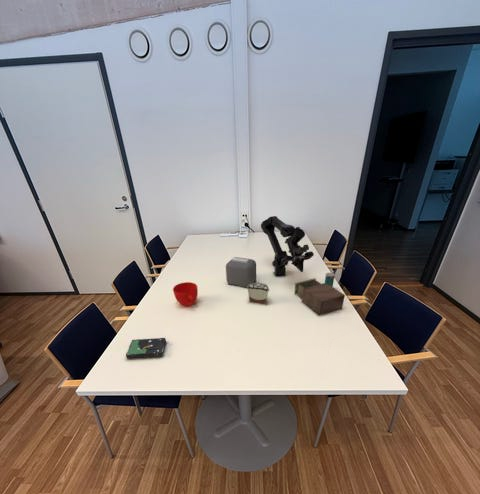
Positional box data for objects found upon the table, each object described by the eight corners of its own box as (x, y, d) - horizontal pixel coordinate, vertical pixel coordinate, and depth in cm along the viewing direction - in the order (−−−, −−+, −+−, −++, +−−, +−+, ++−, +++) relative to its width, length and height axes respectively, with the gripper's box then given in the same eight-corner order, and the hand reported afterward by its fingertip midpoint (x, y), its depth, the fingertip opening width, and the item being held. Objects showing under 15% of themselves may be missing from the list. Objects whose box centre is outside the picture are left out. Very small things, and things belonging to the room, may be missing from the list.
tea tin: (325, 292, 153) (327, 276, 147) (321, 288, 157) (324, 273, 151) (333, 291, 153) (336, 275, 148) (329, 287, 157) (332, 272, 152)
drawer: (290, 290, 154) (291, 280, 151) (309, 286, 158) (310, 275, 155) (308, 305, 140) (310, 294, 136) (329, 299, 144) (331, 288, 140)
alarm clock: (256, 281, 168) (256, 258, 159) (249, 289, 159) (248, 264, 151) (233, 277, 174) (232, 254, 165) (225, 284, 165) (223, 261, 156)
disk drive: (166, 342, 120) (133, 344, 119) (165, 337, 118) (131, 339, 117) (162, 357, 111) (126, 359, 110) (161, 352, 110) (125, 354, 109)
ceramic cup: (182, 315, 138) (179, 298, 132) (173, 301, 150) (170, 285, 145) (205, 308, 142) (203, 292, 137) (194, 295, 155) (192, 280, 149)
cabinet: (301, 301, 145) (303, 288, 140) (323, 296, 149) (325, 282, 145) (318, 315, 133) (321, 301, 128) (341, 309, 137) (344, 294, 133)
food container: (271, 299, 148) (271, 283, 142) (268, 305, 143) (269, 288, 138) (250, 296, 152) (250, 281, 146) (247, 302, 147) (246, 285, 141)
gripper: (285, 242, 142) (294, 269, 140) (314, 237, 147) (323, 263, 146) (277, 251, 152) (285, 276, 150) (304, 246, 158) (313, 270, 156)
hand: (302, 271), depth 150 cm, fingers closed
